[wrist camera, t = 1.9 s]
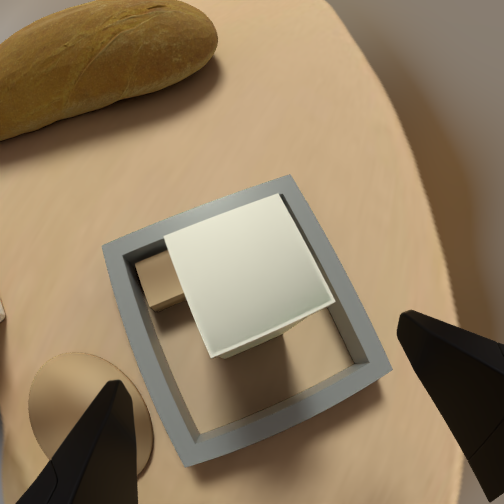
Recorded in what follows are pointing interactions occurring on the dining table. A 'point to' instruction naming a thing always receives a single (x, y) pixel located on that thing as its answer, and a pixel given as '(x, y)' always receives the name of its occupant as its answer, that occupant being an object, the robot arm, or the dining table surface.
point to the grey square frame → (156, 366)
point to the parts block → (160, 281)
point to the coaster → (79, 400)
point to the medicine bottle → (1, 312)
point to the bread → (98, 58)
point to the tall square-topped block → (247, 276)
